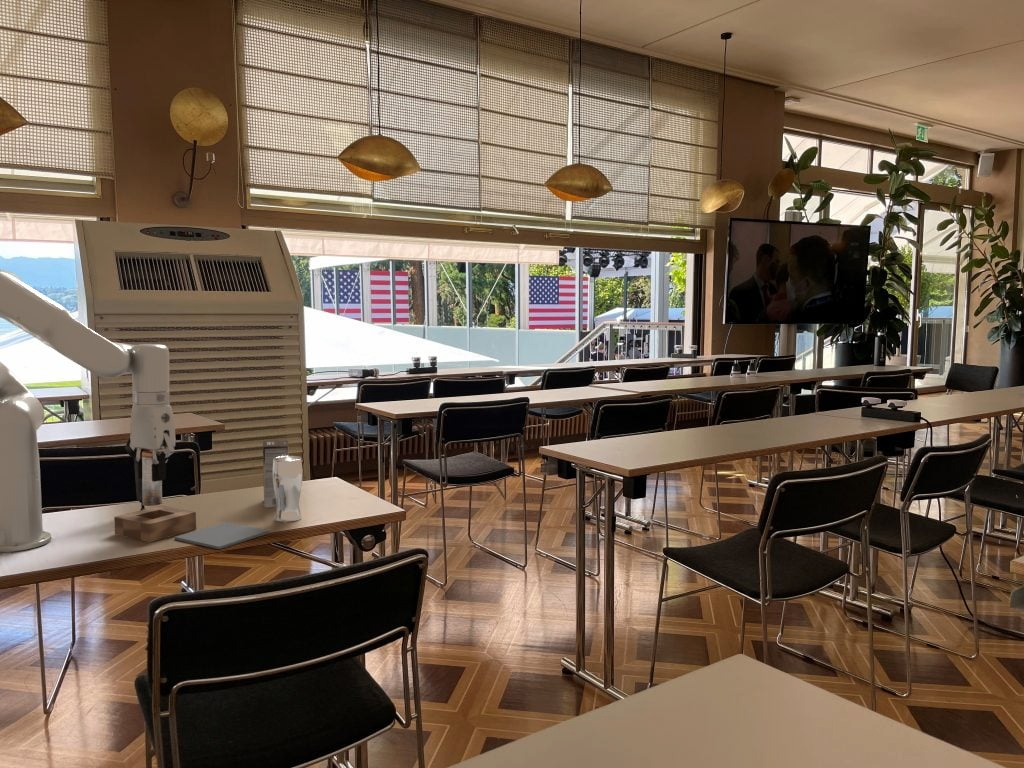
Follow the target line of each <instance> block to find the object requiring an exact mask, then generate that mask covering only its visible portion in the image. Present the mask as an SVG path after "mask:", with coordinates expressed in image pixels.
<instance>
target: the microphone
mask: <svg viewBox="0 0 1024 768" xmlns="http://www.w3.org/2000/svg"><path fill="white" fill-rule="evenodd" d="M130 442H131V440H130V438H129V439H128V440H127V442H126V445H125V451H126V452H127V454H128V456H129V457H131V458H133V462H134V463H133V464H134V475H135V491H136V500H137V501H138V503H140V504H141V505H140V507H141V508H140V510H144V509H146V508H145V507H146V506H145V505H143V498H142V479H139V478H138V462H139V461H137V460H136V454H135V453H134V451H133V449H132V448H131V447H130ZM144 451H145V450H144ZM140 510H139V511H140Z"/></svg>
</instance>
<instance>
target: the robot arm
mask: <svg viewBox="0 0 1024 768" xmlns="http://www.w3.org/2000/svg"><path fill="white" fill-rule="evenodd" d="M0 318H1V319H3V320H5V321H6V322H9V323H10V324H11V325H13V326H15V327H17V328H19V329H21V330H22V331H23V332H25V333H27V334H29V335H31V336H32V337H33V338H36V339H37V340H39V341H40V342H41V343H42V344H44V345H46V346H48V347H50V348H51V349H53V350H54V351H56V352H58V353H59V354H60V355H62V356H64V357H65V358H67V359H68V360H69V361H71V362H73V363H75V364H77V365H78V366H81V368H84V369H85V370H87V371H89V372H91V373H93V374H94V375H95V376H98V377H100V378H104V379H108V380H109V379H117V378H119V377H121V376H124V375H131V377H132V379H131V381H132V384H131V385H132V387H131V388H132V408H131V412H130V413H131V415H130V427H129V430H130V431H129V434H130V436H129V439H130V440H131V442H130V447H131V448H132V449H133V451H134V453H135V454H136V460H137V461H139V462H138V478H139V479H142V451H144V450H145V451H147V450H152V453H153V461H154V464H152V481H154V482H156V481H161V480H162V481H165V480H166V479H167V466H166V465H167V463H168V461H169V458H170V456H172V455H173V454H174V453H175V452H176V451H175V447H176V442H177V441H176V440H177V439H176V426H175V419H174V417H175V416H174V411H173V408H172V405H170V350H169V347H168V346H166V345H165V344H161V343H160V344H158V343H155V344H154V343H139V344H129V343H124V342H123V343H121V342H115V341H113V342H112V341H110V340H109V339H107V338H105V337H103V336H102V335H100V334H99V333H97V332H95V331H94V330H93V329H91V328H90V327H88V326H86V325H85V324H83V323H82V322H80V321H79V320H78V319H77V318H75V316H74V315H72V313H71V312H70V311H69V310H68V309H67V308H65V307H64V305H62V304H60V303H58V302H57V301H55V300H53V299H52V298H50V297H49V296H46V295H44V293H41V292H39V290H37V289H35V288H33V287H32V286H30V285H28V284H27V283H25V282H24V281H23V280H22V279H21V278H20V277H19V276H18V275H17V274H15V273H13V272H10V271H8V270H4V269H0ZM44 420H45V410H44V406H43V405H42V403H41V402H40V400H39V399H38V398H37V397H36V396H35V394H33V393H32V392H31V391H30V390H29V388H28V387H27V386H26V385H25V384H24V383H23V382H22V381H21V380H20V379H19V378H18V377H17V376H16V375H15V374H14V373H13V372H12V371H11V370H10V369H9V368H8V367H7V366H6V365H5V364H4V363H2V362H1V361H0V553H11V552H12V553H13V552H18V551H26V550H31V549H34V548H38V547H40V546H41V547H42V546H43V545H46V544H48V543H49V542H51V540H52V539H53V538H52V534H51V533H50V532H48V531H44V529H43V509H42V507H43V506H42V488H41V487H42V485H41V468H40V453H39V444H38V436H37V430H38V429H40V427H41V426H42V425H43V423H44ZM158 452H161V454H160V455H159V456H158Z"/></svg>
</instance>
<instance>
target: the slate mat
mask: <svg viewBox="0 0 1024 768" xmlns="http://www.w3.org/2000/svg"><path fill="white" fill-rule="evenodd" d="M267 534H270V529H264V528H263V529H262V528H259V527H253V526H249V525H243V524H238V523H232V522H228V521H225V522H222V523H218V524H214V525H211V526H207V527H204V528H201V529H198V530H193V531H189V532H187V533H183V534H179V535H178V536H177V535H175V536H174V540H176V541H180V542H185V543H189V544H193V545H199V546H202V547H207V548H212V549H216V550H222V549H225V548H228V547H231V546H234V545H237V544H240V543H243V542H247V541H249V540H252V539H255V538H258V537H261V536H264V535H267Z"/></svg>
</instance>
